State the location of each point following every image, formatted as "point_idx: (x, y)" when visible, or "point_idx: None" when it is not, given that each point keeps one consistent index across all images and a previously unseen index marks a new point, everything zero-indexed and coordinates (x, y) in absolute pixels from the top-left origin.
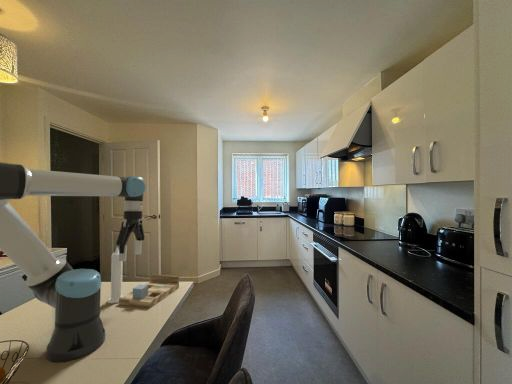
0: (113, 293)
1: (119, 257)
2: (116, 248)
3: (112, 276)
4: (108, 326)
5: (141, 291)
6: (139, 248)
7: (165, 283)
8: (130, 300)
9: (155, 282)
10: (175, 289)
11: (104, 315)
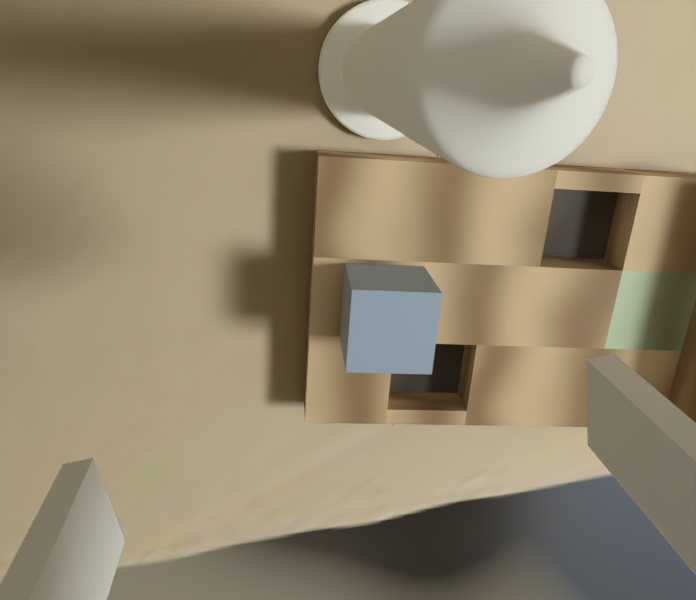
0: (348, 77)
1: (46, 512)
2: (549, 59)
3: (363, 59)
4: (35, 311)
5: (344, 363)
6: (646, 492)
7: (662, 335)
8: (312, 266)
9: (691, 237)
10: None
11: (142, 176)
